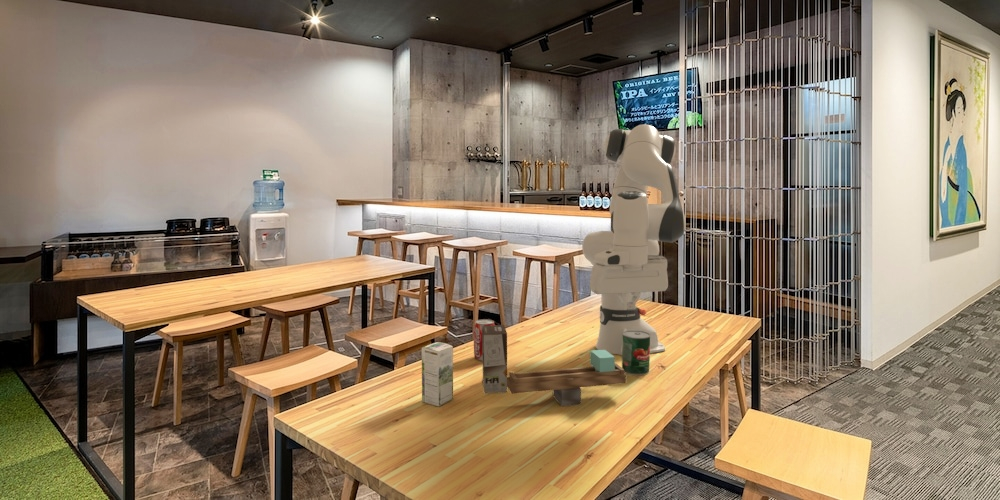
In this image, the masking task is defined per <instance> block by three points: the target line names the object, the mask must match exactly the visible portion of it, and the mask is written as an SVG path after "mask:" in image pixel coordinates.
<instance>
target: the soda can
mask: <svg viewBox="0 0 1000 500" xmlns="http://www.w3.org/2000/svg"><path fill="white" fill-rule="evenodd" d="M491 325H495V321H494V320H492V319H486V318H483V319H478V320H476V321H475V325H474V326H473V355H474V358H475V359H477V360H478V361H480V362H483V359H482V326H491Z"/></svg>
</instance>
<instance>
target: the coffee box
mask: <svg viewBox="0 0 1000 500" xmlns="http://www.w3.org/2000/svg"><path fill="white" fill-rule="evenodd" d="M482 359H483V361H482V384H483V385H482V386H483V393H484V394H501V393H502V394H503V393H504V394H506V393H508V387H507V377H508V332H507V329H506V327H505V325H503V324H499V325H498V324H494V325H491V326H482Z"/></svg>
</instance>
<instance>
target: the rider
mask: <svg viewBox="0 0 1000 500" xmlns="http://www.w3.org/2000/svg"><path fill="white" fill-rule="evenodd" d="M589 352H590V353H589V364H590V365H591V367H594V368H595V371H599V372H608V371H615V363H616V360H615V359H616V357H615V356H614V354H612V353H609V352H607V351H606V350H605V349H604V350H598V349H593V350H590V351H589Z"/></svg>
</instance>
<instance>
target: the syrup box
mask: <svg viewBox="0 0 1000 500" xmlns="http://www.w3.org/2000/svg"><path fill="white" fill-rule="evenodd" d="M453 399H454V347H453V345H451V344H448V343H445V342H439V341H438V342H433V343H431V344H428V345H425V346H422V347H421V401H422V403H426V404H428V405H432V406H435V407H442V406H443V405H445V404H447V403H448V402H450V401H452V400H453Z"/></svg>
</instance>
